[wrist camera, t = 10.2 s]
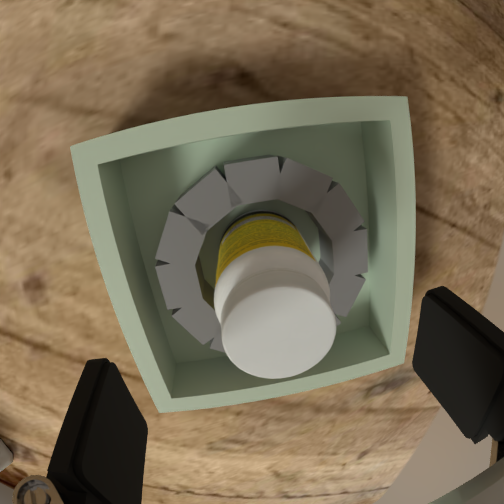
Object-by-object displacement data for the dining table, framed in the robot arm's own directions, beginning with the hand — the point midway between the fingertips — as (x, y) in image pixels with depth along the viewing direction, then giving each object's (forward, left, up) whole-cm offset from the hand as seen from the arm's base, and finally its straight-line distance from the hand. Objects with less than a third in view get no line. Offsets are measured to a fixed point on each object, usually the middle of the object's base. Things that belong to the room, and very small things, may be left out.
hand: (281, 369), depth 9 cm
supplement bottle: (0, +1, -11) cm, 10 cm away
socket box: (0, +1, -11) cm, 11 cm away
